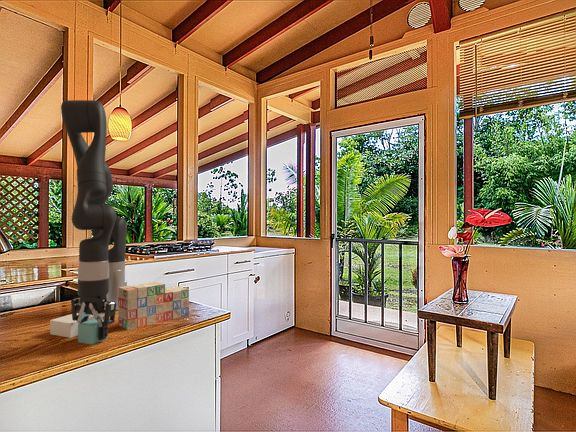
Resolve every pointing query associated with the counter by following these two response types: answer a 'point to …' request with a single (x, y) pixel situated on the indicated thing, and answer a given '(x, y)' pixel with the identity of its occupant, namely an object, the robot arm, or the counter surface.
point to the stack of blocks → (150, 304)
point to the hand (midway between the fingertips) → (92, 337)
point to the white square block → (65, 326)
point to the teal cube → (88, 332)
